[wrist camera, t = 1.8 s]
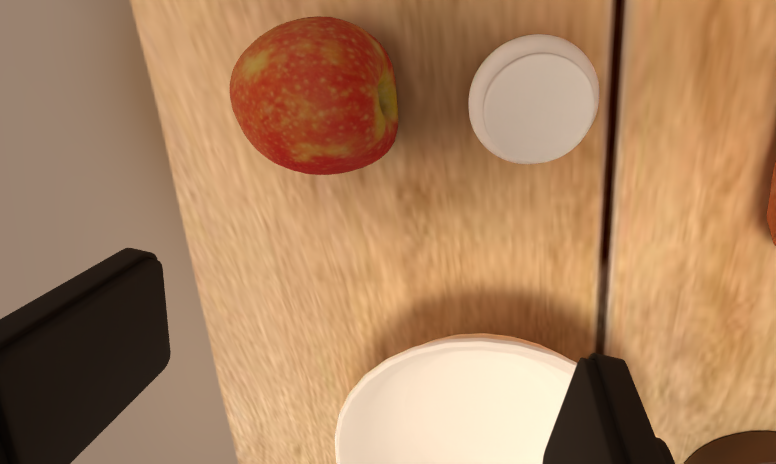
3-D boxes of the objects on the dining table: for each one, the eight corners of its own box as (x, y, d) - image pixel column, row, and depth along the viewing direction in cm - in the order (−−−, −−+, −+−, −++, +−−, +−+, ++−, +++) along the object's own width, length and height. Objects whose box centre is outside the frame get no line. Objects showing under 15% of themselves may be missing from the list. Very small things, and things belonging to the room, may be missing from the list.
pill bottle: (561, 144, 26) (595, 191, 17) (467, 132, 27) (454, 172, 18) (584, 42, 24) (637, 37, 15) (482, 33, 25) (475, 24, 16)
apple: (409, 157, 28) (379, 194, 21) (284, 158, 30) (218, 193, 23) (403, 16, 26) (367, 3, 18) (266, 27, 27) (184, 19, 20)
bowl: (313, 337, 35) (278, 393, 29) (571, 242, 28) (591, 291, 22) (429, 520, 40) (417, 600, 34) (675, 477, 33) (714, 569, 27)
